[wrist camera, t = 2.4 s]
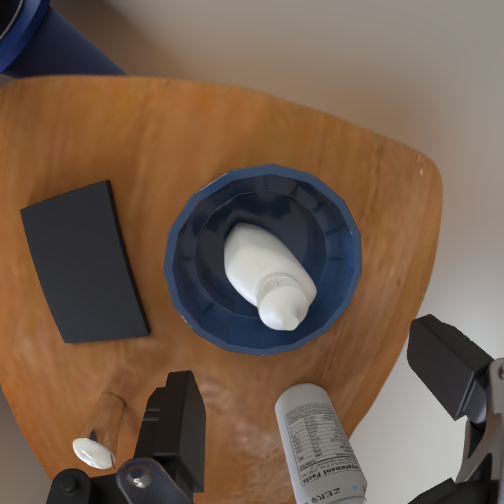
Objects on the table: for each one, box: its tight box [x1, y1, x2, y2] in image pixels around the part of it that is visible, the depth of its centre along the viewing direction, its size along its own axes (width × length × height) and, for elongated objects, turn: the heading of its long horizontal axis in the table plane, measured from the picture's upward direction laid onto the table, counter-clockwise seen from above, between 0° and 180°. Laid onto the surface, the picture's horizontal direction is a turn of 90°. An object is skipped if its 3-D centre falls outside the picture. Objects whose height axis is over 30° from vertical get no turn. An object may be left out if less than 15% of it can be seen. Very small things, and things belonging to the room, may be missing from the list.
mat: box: [20, 180, 151, 343], centre depth 23 cm, size 14×10×1 cm
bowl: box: [163, 164, 362, 356], centre depth 21 cm, size 13×13×6 cm
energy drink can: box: [275, 383, 367, 504], centre depth 22 cm, size 6×6×15 cm
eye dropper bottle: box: [224, 223, 317, 330], centre depth 18 cm, size 4×6×12 cm
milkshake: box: [73, 393, 125, 470], centre depth 23 cm, size 4×5×10 cm
